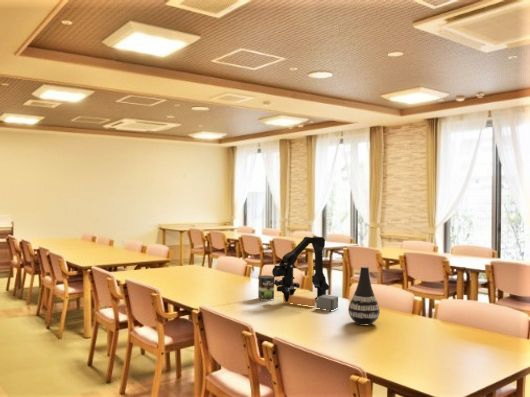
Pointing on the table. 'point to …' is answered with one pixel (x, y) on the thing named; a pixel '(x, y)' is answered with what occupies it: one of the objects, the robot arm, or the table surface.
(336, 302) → the dispenser
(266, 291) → the coffee can
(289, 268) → the robot arm
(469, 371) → the table surface
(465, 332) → the table surface
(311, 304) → the orange rectangular bar
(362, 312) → the vase
